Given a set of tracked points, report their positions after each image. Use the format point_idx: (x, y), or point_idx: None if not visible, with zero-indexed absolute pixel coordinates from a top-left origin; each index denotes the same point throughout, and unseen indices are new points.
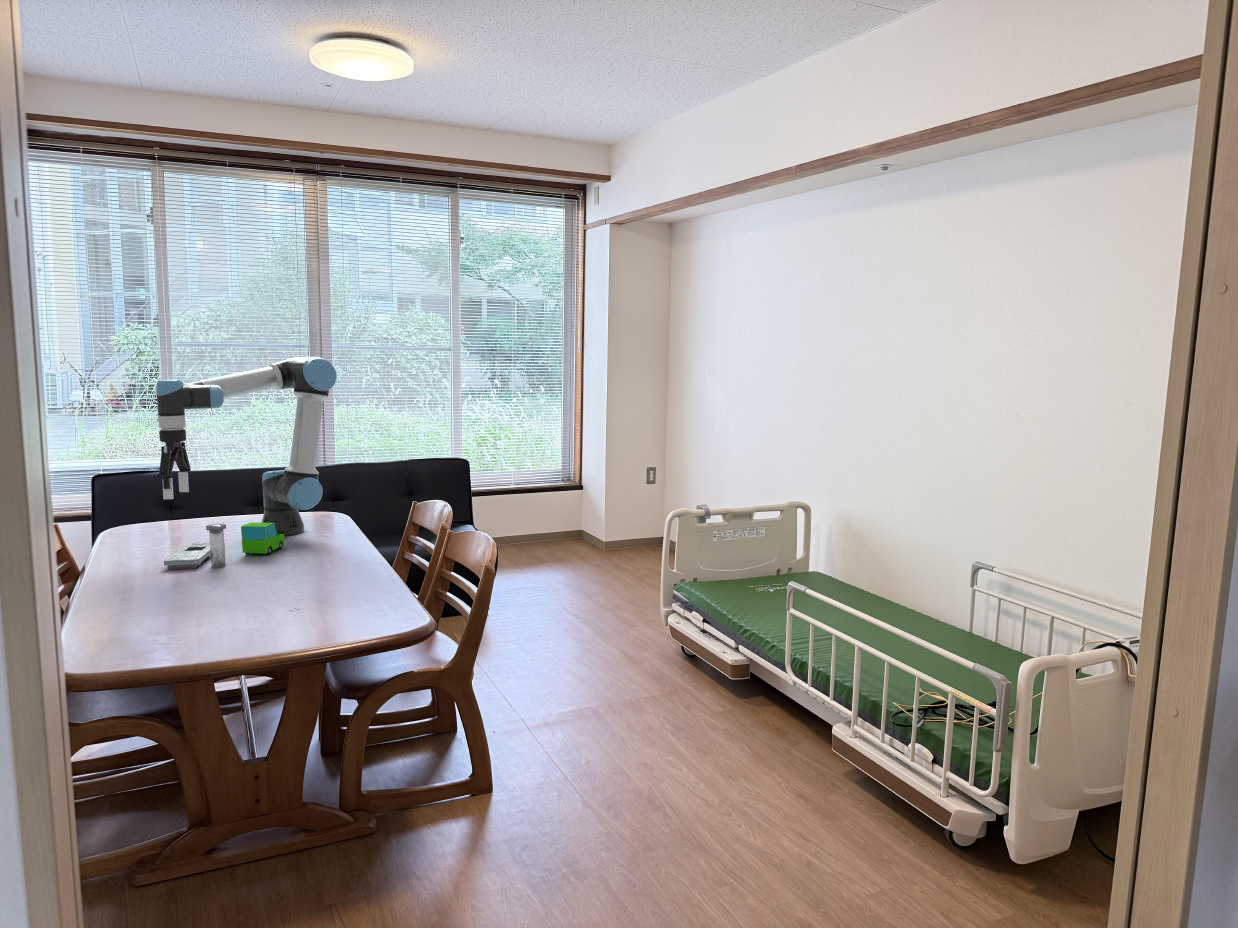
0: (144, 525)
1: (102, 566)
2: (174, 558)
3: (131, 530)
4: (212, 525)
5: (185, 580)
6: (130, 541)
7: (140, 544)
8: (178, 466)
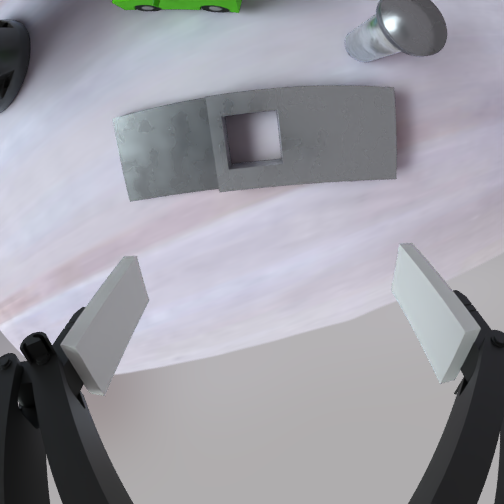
0: None
1: (318, 318)
2: (376, 158)
3: None
4: (417, 32)
5: (471, 100)
6: None
7: None
8: (97, 433)
